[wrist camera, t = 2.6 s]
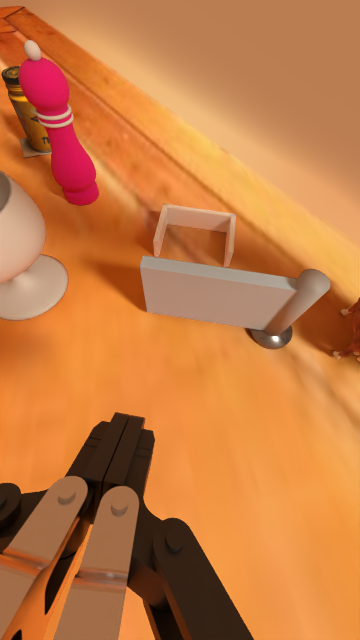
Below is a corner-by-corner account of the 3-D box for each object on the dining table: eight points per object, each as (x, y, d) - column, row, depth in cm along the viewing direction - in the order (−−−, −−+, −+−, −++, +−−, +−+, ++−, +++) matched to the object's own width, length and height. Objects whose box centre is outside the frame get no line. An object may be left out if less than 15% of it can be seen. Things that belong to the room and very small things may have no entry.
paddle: (282, 319, 34) (328, 271, 25) (283, 338, 33) (332, 295, 23) (150, 298, 35) (143, 243, 25) (146, 316, 34) (137, 265, 24)
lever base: (288, 315, 36) (291, 312, 35) (291, 352, 33) (293, 350, 33) (249, 309, 36) (251, 306, 35) (248, 345, 33) (250, 343, 33)
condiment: (65, 151, 52) (38, 77, 42) (24, 158, 50) (-14, 83, 40) (59, 134, 55) (32, 61, 44) (20, 140, 53) (-17, 65, 43)
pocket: (231, 230, 44) (236, 214, 41) (228, 267, 40) (233, 252, 37) (163, 220, 44) (163, 203, 41) (154, 256, 40) (153, 240, 37)
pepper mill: (67, 182, 48) (7, 28, 30) (103, 183, 48) (66, 31, 30) (59, 206, 44) (-13, 50, 26) (99, 208, 45) (53, 54, 27)
